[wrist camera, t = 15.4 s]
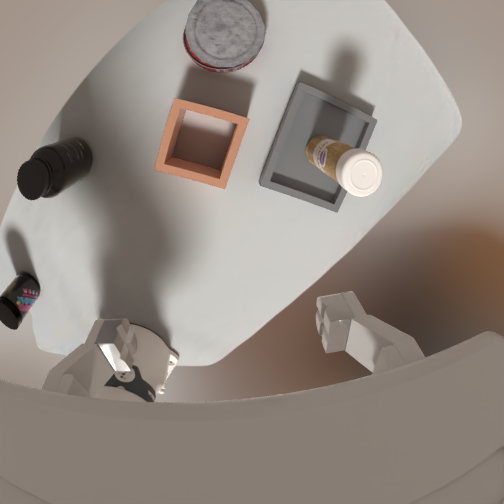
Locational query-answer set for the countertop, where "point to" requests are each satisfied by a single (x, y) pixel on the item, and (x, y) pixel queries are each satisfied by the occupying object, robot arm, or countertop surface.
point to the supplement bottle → (54, 168)
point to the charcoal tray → (299, 135)
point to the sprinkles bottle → (346, 165)
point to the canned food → (223, 34)
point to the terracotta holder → (189, 168)
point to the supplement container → (18, 299)
